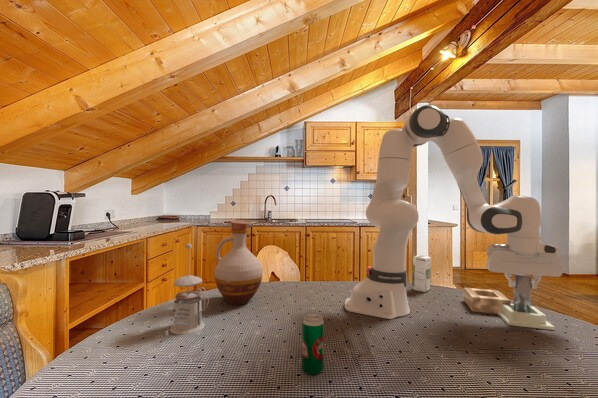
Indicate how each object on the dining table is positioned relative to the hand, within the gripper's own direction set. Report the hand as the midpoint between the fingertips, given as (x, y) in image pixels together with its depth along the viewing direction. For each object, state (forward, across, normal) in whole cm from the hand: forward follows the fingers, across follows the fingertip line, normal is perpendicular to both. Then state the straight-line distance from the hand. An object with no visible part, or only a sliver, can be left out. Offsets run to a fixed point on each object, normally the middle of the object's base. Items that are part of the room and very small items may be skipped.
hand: (522, 287), depth 96 cm
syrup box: (+11, -28, +24) cm, 38 cm away
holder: (+11, 0, 0) cm, 11 cm away
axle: (+8, 0, 0) cm, 8 cm away
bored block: (+11, -8, +9) cm, 16 cm away
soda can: (+11, -59, -48) cm, 77 cm away
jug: (+11, -97, -13) cm, 98 cm away
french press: (+11, -99, -38) cm, 107 cm away
